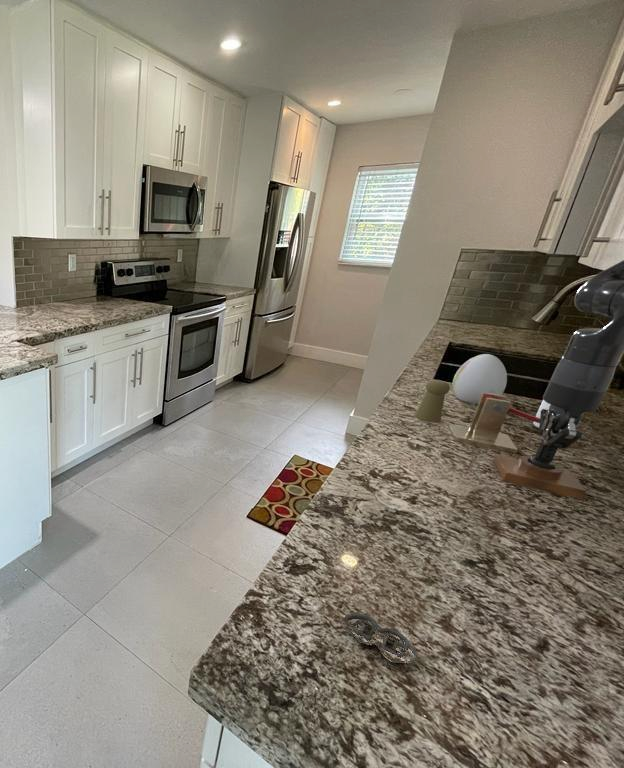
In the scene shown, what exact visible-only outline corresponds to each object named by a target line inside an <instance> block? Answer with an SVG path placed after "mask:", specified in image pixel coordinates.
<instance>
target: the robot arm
mask: <svg viewBox="0 0 624 768" xmlns="http://www.w3.org/2000/svg"><path fill="white" fill-rule="evenodd" d="M573 301H574V302H573V303H574V306H575V308H576V309H577V311H578V312H580V313H583V314H587V315H591V316H598V317H603V318H610V319H612V320H611V321H610V322H609V323H608V324H607V325H606V326H604V327H603V328H596V327H595V328H594V327H593V328H592V327H591V328H590V327H589V328H586V327H585V328H580V329H576V331H575V332H573V334H572V336H571V337H570V339H569V341H568V344H567V346H566V348H565V351H564V353H563V355H562V357H561V359H560V361H559V362H558V363H557V365H556V367H555V368H554V370H553V373H552V375H551V378H550V380H549V382H548V385H547V387H546V389H545V391H544V393H543V396H542V401H543V400H544V401H545V402H547V403H549V404H551V405H550V407H549V409H548V410H547V409H542V410H541V415H540V424H539V428H538V433H537V435H538V436H540V437H539V441H540V444H539V446H538V448H537V450H536V452H535V455H534V456H535V457H536V458H537V460H538V461H543V462H547V463H550V462H552V461H553V460H554V457H555V455H556V453H557V451H558V449H563V450H564V449H568V447H570V446H571V445H573V444H574V443H576V441H578V440H579V439H581V438H582V436H583V433H582V431H578V430H577V429H576V428H578V427H579V426H580V424H581V421H582V419H581V418H582V414H586V413H594V412H596V411H597V410H598V409H599V407H600V404H601V403H602V401H603V399H604V397H605V395H606V393H607V391H608V389H609V387H610V384H611V383H612V380H613V379H614V376H615V373H616V369H617V366H618V364H619V363H620V360H621V358H622V356H623V353H624V259H623V260H621V261H619V262H617V263H615V264H613V265H612V266H610V267H608V268H606V269H605V270H604V269H603V270H602V271H601V272H599V273H597V274H595V275H594V276H592V277H591V278H589V279H588V280H587V281H586V282H584V283H583V284H582V285H581V286H580V287H579V288H578V290H577V292H576V294H575V296H574V300H573Z"/></svg>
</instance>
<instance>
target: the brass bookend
mask: <svg viewBox="0 0 624 768" xmlns="http://www.w3.org/2000/svg"><path fill="white" fill-rule="evenodd" d="M489 396H491V397H494V398H496V399H493V398H488V397H489ZM484 402H485V403H484ZM511 405H512V402H511V400H507V396H506V395H503V394H502V395H497V394H491V393H485V392H483V393H482V395H481V398H480V401H479V403H478V405H477V406H476V409H475V412H474V414H473V416H472V419H471V422H470V424H469V426H465V425H462V424H461V425H460V424H455V423H451V422H450V423H448V426H447V429H448V431H449V433H450V435H451V438H452V441H454V442H457V443H462V444H463V443H464V444H468V445H472V446H478V447H482V448H486V449H492V450H497V451H501V452H505V453H506V452H507V453H511V454H517V452H518V450H519V449H518V447H517V446H516V445H515V443H514V442H513V441H512V439H511V438H510V436H509V434H507V433H501V429H502V426H503V424H504V421H505V419H506V417H507V414H508V413H509V412H508V409H509V407H511Z"/></svg>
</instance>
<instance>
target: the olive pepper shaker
mask: <svg viewBox="0 0 624 768" xmlns="http://www.w3.org/2000/svg"><path fill="white" fill-rule="evenodd" d="M450 386H451V385H450V384H449V383H448V382H446V381H444V380H439V379H429V380H428V381H427V383H426V384H425V390H426V391H425V394H424V395H423V397H422V400H421V401H420V404H419V405H418V407H417V409H416V411H415V413H414V416H415V417H416V418H418V419H420V420H421V421H426V422H430V423H440V422H441V421H442V415H443V409H444V404H445V403H444V402H445V397H446V395H447V394H448V393H449V392H450V390H451V387H450Z"/></svg>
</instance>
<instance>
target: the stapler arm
mask: <svg viewBox="0 0 624 768" xmlns="http://www.w3.org/2000/svg"><path fill="white" fill-rule="evenodd" d="M488 398H493V399H496V398H494V397H491V396H489V397H488ZM484 403H485V402H484ZM507 413H510V414H513V415H515V416H518V417H521V418H523V419H526V420H529V421H532V422H537V423H539V424H540V418H538V417H536V415H532V414H529V413H527V412H524V411H522V410H518V409H516V408H513V407H511V406H510V407H509V409H508V412H507Z"/></svg>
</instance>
